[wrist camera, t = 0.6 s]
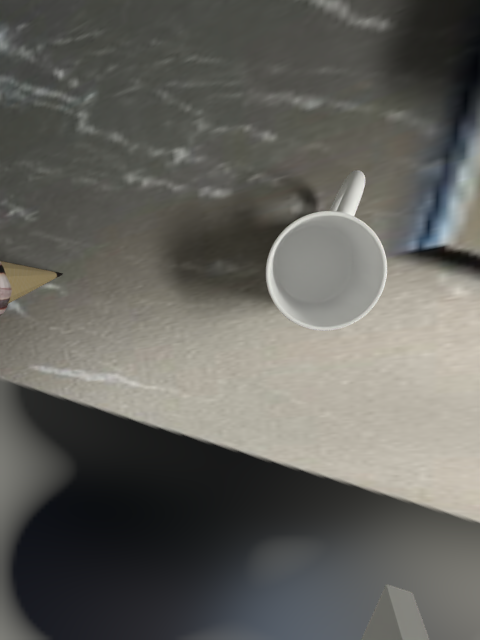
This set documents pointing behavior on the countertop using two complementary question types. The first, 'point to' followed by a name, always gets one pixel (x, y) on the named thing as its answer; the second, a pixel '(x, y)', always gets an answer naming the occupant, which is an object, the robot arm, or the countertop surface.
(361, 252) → the cup
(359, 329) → the countertop surface
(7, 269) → the ice cream cone
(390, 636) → the robot arm
